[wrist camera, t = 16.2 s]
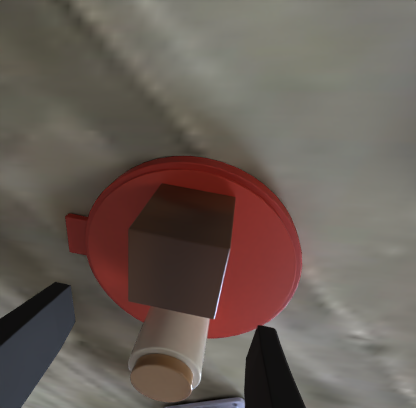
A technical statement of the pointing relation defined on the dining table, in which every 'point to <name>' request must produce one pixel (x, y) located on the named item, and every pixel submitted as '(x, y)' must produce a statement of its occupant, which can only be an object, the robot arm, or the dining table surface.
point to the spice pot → (168, 355)
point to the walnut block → (180, 250)
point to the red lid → (240, 244)
